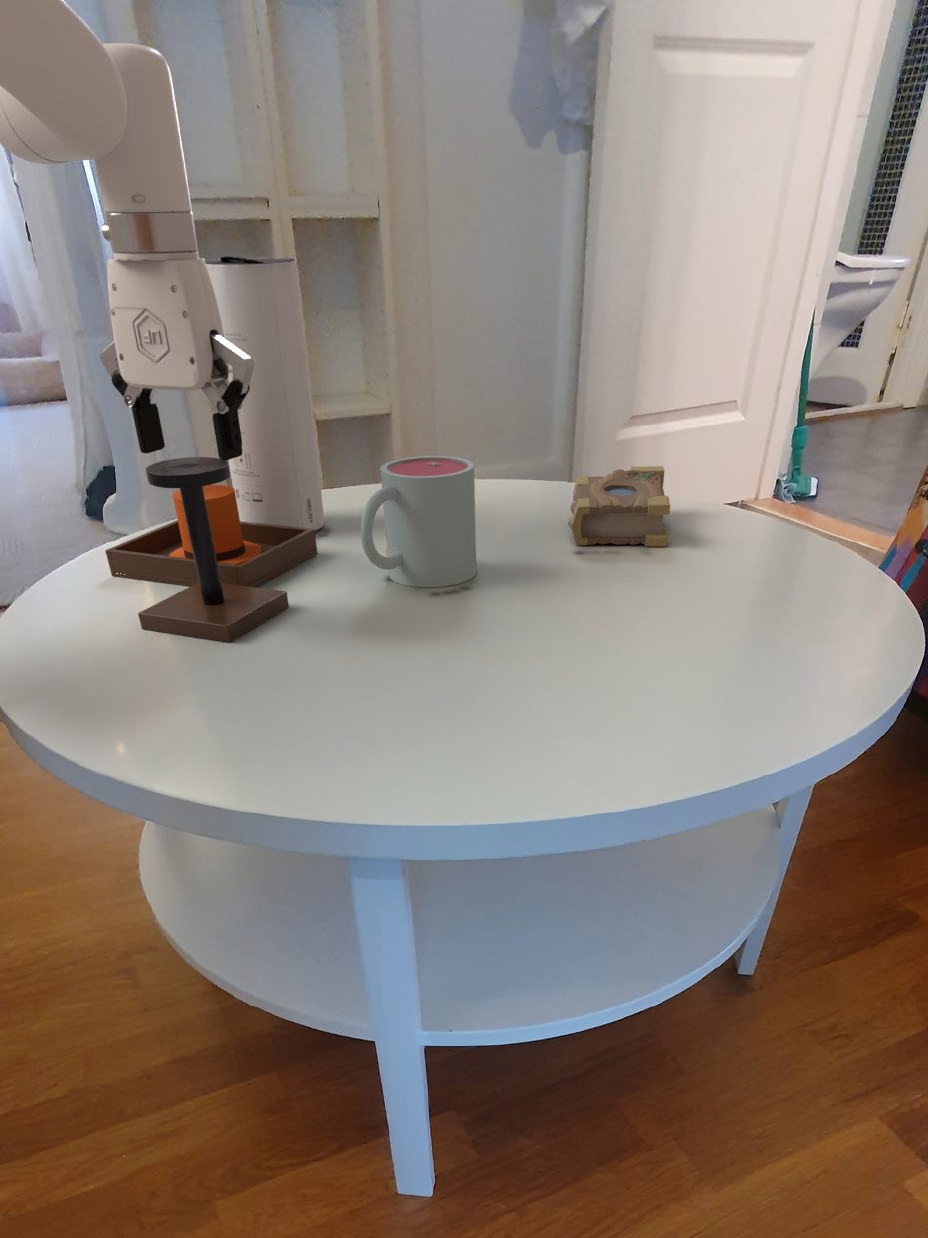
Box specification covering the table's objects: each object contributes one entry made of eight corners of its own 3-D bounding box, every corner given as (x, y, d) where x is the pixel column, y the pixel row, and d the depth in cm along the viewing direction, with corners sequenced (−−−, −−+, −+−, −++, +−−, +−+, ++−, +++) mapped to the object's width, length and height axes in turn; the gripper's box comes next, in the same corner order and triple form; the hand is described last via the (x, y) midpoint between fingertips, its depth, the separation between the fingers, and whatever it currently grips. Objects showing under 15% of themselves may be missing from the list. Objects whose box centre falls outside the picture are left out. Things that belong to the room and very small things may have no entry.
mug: (432, 554, 103) (428, 452, 97) (494, 571, 98) (493, 464, 92) (337, 585, 96) (325, 477, 89) (398, 605, 91) (390, 492, 84)
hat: (150, 567, 100) (134, 500, 96) (205, 541, 107) (193, 477, 103) (227, 577, 97) (214, 508, 93) (279, 550, 104) (270, 484, 99)
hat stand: (141, 629, 88) (102, 474, 79) (205, 595, 94) (175, 450, 86) (230, 642, 84) (199, 483, 76) (289, 607, 91) (267, 457, 83)
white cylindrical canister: (344, 526, 113) (316, 252, 96) (273, 545, 107) (230, 258, 90) (291, 511, 119) (256, 250, 102) (222, 528, 113) (172, 256, 96)
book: (667, 547, 103) (672, 497, 100) (567, 547, 104) (569, 498, 101) (658, 511, 114) (663, 466, 111) (568, 512, 115) (569, 467, 112)
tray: (111, 576, 100) (104, 550, 98) (192, 539, 110) (187, 515, 108) (245, 593, 95) (240, 566, 93) (317, 553, 104) (314, 528, 103)
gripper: (49, 240, 84) (99, 455, 95) (208, 240, 79) (241, 468, 90) (106, 238, 89) (147, 442, 100) (258, 237, 84) (284, 453, 95)
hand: (191, 454), depth 95 cm, fingers open, 9 cm apart
